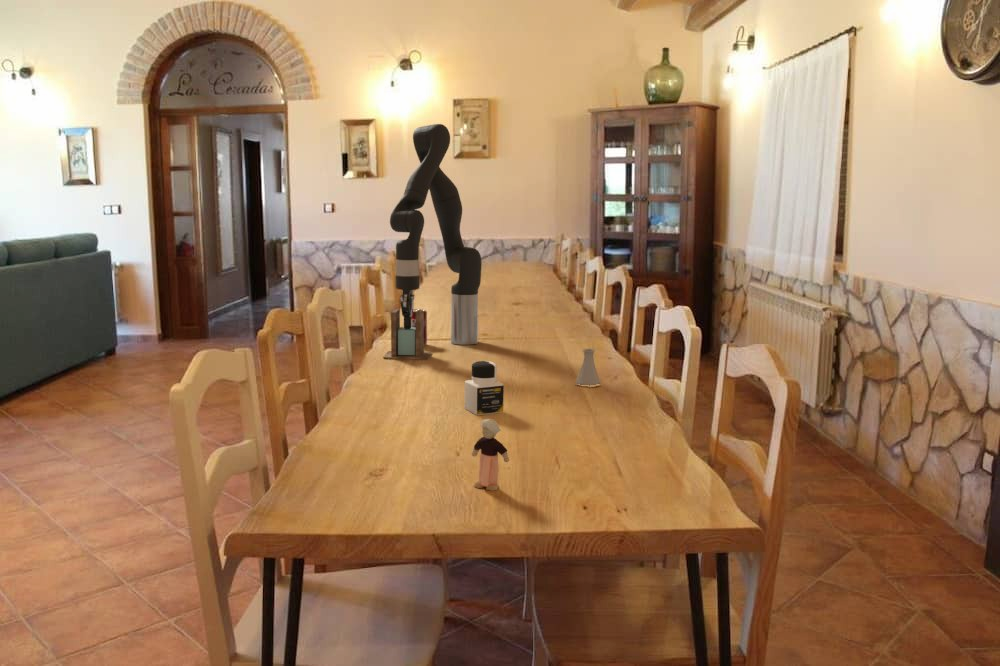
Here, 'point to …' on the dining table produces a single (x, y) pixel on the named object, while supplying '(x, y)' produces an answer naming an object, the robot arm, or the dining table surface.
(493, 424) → the grandmother figurine
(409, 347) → the block
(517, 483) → the dining table surface
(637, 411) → the dining table surface
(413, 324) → the soda can
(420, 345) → the brown wooden holder
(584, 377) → the flask
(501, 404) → the medicine bottle
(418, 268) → the robot arm
